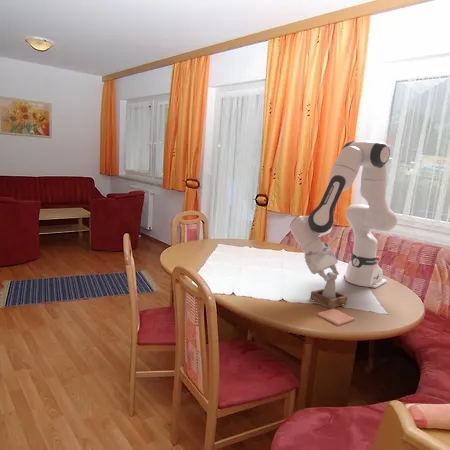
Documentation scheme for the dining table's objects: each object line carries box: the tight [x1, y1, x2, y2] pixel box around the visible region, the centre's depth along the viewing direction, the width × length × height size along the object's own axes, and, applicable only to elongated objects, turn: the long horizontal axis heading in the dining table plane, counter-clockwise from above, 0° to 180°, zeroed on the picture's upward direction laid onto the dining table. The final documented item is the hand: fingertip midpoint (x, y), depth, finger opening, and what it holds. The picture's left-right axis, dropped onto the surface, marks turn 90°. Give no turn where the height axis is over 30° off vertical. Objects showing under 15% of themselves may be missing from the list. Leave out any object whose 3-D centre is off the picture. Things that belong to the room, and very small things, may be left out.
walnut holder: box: [309, 288, 348, 310], centre depth 161 cm, size 11×11×4 cm
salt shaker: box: [322, 271, 338, 299], centre depth 160 cm, size 6×6×13 cm
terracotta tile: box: [317, 308, 356, 327], centre depth 146 cm, size 10×10×1 cm
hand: (332, 277), depth 159 cm, fingers open, 8 cm apart
